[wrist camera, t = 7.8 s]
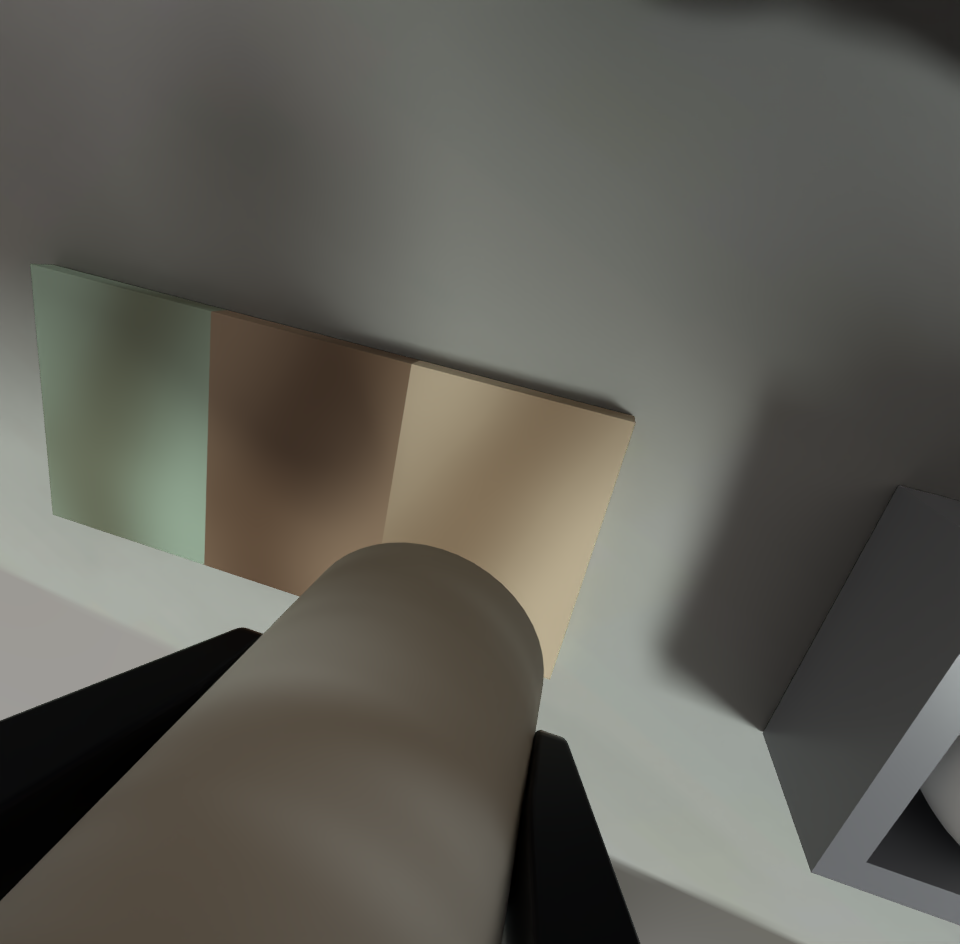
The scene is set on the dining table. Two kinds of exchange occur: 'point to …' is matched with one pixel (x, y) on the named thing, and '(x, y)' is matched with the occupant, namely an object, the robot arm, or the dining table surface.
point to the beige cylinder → (322, 779)
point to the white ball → (946, 790)
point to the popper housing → (881, 714)
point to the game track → (310, 447)
